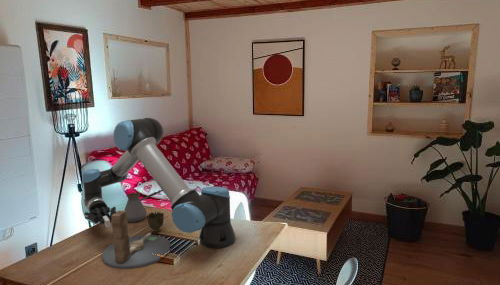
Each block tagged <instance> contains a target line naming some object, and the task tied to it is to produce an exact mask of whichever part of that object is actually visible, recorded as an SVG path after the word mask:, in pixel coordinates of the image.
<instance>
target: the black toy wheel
mask: <svg viewBox="0 0 500 285" xmlns="http://www.w3.org/2000/svg"><path fill="white" fill-rule="evenodd" d="M146 218H147V224H148V227H149V228H150V229H151V230H152V232H153V233H158V232H160V231H161V228H162V227H163V225H164V213H163V212H159V211H157V212H156V211H155V212H151V213H148V215H146Z"/></svg>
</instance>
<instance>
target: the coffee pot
mask: <svg viewBox="0 0 500 285" xmlns="http://www.w3.org/2000/svg"><path fill="white" fill-rule="evenodd" d="M161 192H163V190H162V189H160V190H157V191H154V192H152V193H151V194H149V195H146V196H144V197H142V198H140V196H141V193H140V192H131V193H128V194H126V197H127V198H128V199H127V201H126V202H127V203H126V204H125V207H124V210H123V211H127V223H137V222H141V221H143V220H144V219H145V217H147V214H148V212H147V210H146V208H145V206H144V204H143V203H142V201H144V200H146V199H148V198H151V197H153V196H156V195H157V194H161Z"/></svg>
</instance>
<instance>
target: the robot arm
mask: <svg viewBox="0 0 500 285" xmlns="http://www.w3.org/2000/svg"><path fill="white" fill-rule="evenodd" d="M163 137H164V127H163V125H162V123H160V122H159V121H158V120H157V119H155V118H152V117H144V118H138V119H130V120H129V119H127V120H123V121H120V122H118V123H117V124H116V126H115V128H114V130H113V141H114V144H115V146H116V148H117V149H118V150H120V151H124V153H123V154H122V155H121V156H120V157H119V159H117V160H116V162H115V163H114V164H113V165H112V166H111V167H110V168H109V169H105V170H102V171H100V169H98V168H90V169H86V170H83V172H82V183H83V184H82V186H83V191H84V192H83V193H84V199H83V202H84V206H85V207H86V209H87V210H88V212H87V211H85V212H84V219H87V220H89V221H91V222H93V223H94V224H98V223H99V224H100V225H103V224H104V226H105V228H110V227H111V223H112V218H111V215H113V214H114V213H116V212H117V209H116V206H112V207H109V206H108V205H107V203H106V202H105V201H104V199H103V193H102V192H103V191H102V188H103V187H106V186H108V187H109V186H111V185H114V184H118V183H122V182H123V181H126V179H127V178H128V176H129V175H128V173H129V172H130V171H131V170H132V168H134V167H135V165H136V164H137V163H138V162H140V163H141V164H142V165H143V166H144V168H145V169H146V171H147V172H148V173H149V174H150V176H151V177H152V178H153V180H154V181H155V183H156V184H157V185H158V186H159V188H160V190H163V191H162V192H163V193H164V194H165V196H166V197H167V198H168V200H169V201H170V209H171V210H172V211H171V217H172V222H173V224H174V225H175V227H176V228H177V229H178V230H180V231H181V232H183V233H188V234H192V233H195V232H197V231H200V233H199V238H198V239H199V240H200V241H199V244H200V245H201V246H202V247H203V248H204V247H205V248H208V249H222V248H226V247H229V246H231V245H233V244H234V243H235V241H236V233H235V230H234V227H233V225H232V223H231V196H230V191H229V189H228V188H226V187H222V186H205V187H202V188H201V191H200V194H199V192H198V191H197V190H196V189H195V188H190V187H189V186H188V185H187V183H186V182H185V181H184V179H183V178H182V177H181V176H180V174H179V173H178V172H177V171H176V169H175V168H174V167H173V166H172V164H171V163H170V162H169V160H168V159H167V158H166V157H165V156H164V154H163V153H162V151H161V150H160V149H159V148H158V145H159V144H160V143H161V141H162V139H163Z"/></svg>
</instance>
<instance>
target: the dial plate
mask: <svg viewBox="0 0 500 285" xmlns="http://www.w3.org/2000/svg"><path fill="white" fill-rule="evenodd" d="M146 235H147V234H141V235H140V234H139V235H134V236H129V246H130V243H131V242H133V241H137V240H141V239H142V238H143V237H144V236H146ZM143 244H144V248H143V249H141V250H137V251H134V252H133V253H132V254H130V257H129V258H128V259H127V260H126V261H125V262H124V263H117V262H116V261H115V251H114V242H112V243H111V244H109V245H108V246H106V247H105V249H104V250H103V251H102V253H101V257H102V262H103V263H104V265H106V266H107V267H110V268H114V269H119V270H121V269H124V270H125V269H127V270H128V269H137V268H143V267H147V266H150V265H152V264H155V263H158V262H159V261H160V260H159V259H160V256H157V254H160V255H164V254H165V253H167V252H168V251H169V250H170V247H171V242H170V240H169V239H168V238H166V237H164V236H160V235H156V234H155V235H154V234H151V235H150V236H149V237H147V238H146V239H145V240H144V241H143ZM170 251H171V250H170ZM152 253H153V254H154V255H153V254H152ZM155 254H156V255H155Z"/></svg>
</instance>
